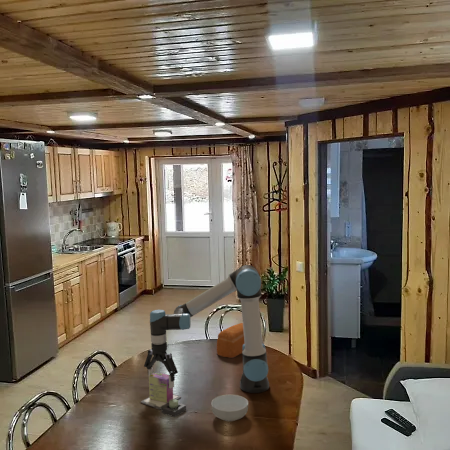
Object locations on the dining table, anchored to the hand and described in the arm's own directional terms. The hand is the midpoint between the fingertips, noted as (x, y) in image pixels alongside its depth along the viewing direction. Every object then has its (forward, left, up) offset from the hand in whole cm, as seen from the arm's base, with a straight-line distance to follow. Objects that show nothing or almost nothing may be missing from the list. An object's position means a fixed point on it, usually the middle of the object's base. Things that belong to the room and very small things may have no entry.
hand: (161, 384), depth 236 cm
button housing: (-13, +5, -8) cm, 16 cm away
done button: (-13, +5, -6) cm, 15 cm away
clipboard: (0, 0, -8) cm, 8 cm away
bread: (+9, -77, -8) cm, 78 cm away
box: (0, 0, -7) cm, 7 cm away
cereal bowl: (-38, -5, -8) cm, 39 cm away
